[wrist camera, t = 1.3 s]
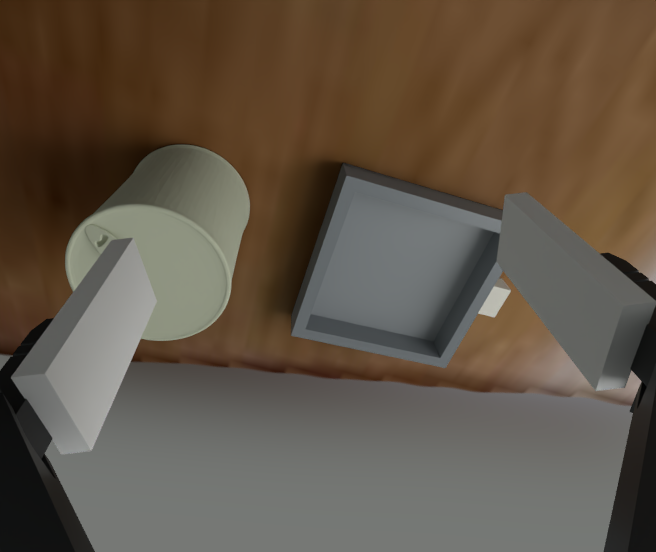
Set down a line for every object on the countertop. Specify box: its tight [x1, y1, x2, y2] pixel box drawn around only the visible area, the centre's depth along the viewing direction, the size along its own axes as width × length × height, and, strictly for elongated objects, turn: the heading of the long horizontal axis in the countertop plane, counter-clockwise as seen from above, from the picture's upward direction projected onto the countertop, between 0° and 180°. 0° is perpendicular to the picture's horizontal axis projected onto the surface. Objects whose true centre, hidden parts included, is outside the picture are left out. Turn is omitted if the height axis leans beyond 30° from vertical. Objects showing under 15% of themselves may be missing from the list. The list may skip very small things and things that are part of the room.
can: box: [65, 145, 250, 341], centre depth 30 cm, size 9×9×12 cm
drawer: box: [291, 163, 511, 368], centre depth 38 cm, size 17×15×3 cm
